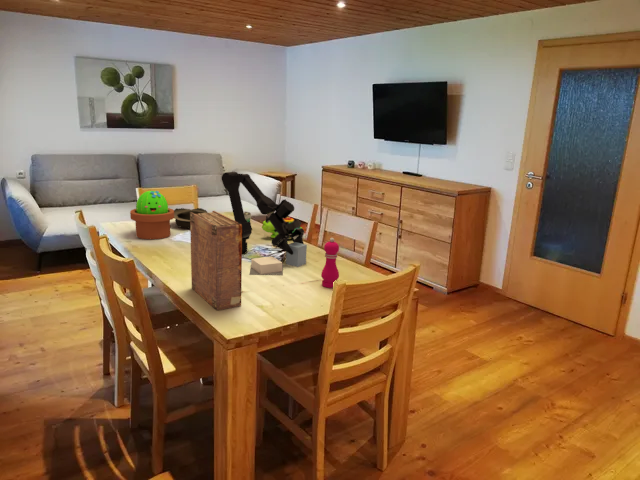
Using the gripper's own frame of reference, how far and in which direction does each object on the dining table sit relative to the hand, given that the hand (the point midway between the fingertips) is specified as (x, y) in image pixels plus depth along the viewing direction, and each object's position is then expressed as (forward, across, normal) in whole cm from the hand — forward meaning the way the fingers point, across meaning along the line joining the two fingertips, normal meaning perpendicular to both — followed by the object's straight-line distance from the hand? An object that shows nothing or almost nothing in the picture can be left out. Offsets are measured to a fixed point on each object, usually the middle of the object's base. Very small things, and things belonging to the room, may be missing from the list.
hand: (298, 252), depth 218 cm
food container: (-39, +36, +49) cm, 72 cm away
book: (+3, -50, +7) cm, 51 cm away
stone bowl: (-60, +23, +70) cm, 95 cm away
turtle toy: (-20, +36, +30) cm, 51 cm away
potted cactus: (-59, -7, +68) cm, 91 cm away
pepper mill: (+22, -12, -12) cm, 28 cm away
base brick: (0, -15, +8) cm, 17 cm away
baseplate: (0, -15, +9) cm, 18 cm away
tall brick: (+4, 0, +6) cm, 7 cm away
